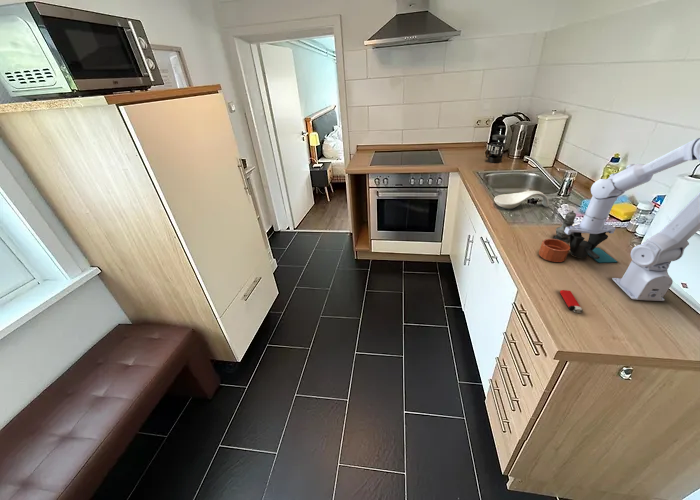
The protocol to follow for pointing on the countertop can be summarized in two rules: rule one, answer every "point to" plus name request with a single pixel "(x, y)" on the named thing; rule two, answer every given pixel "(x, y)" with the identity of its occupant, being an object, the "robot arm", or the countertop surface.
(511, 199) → the spoon rest
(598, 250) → the cloth
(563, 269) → the countertop surface
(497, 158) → the french press
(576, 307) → the lighter
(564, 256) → the bowl
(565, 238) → the grey tall lumpy piece
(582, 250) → the scoop
